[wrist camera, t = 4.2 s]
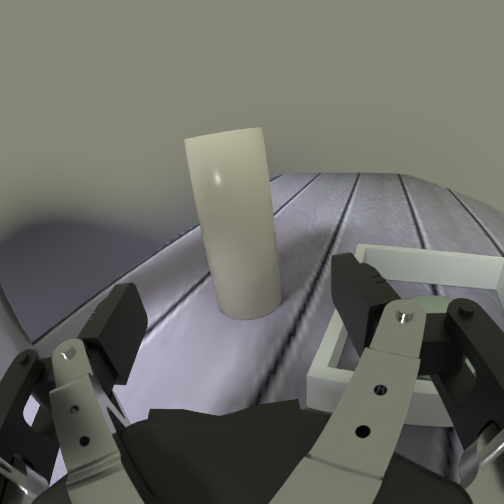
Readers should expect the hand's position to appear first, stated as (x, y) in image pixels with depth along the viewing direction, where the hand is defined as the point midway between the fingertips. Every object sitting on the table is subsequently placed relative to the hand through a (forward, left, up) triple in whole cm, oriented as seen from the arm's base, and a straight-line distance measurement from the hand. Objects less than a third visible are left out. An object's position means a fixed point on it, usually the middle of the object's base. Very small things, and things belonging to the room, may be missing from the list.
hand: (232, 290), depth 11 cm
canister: (-6, +10, -8) cm, 14 cm away
